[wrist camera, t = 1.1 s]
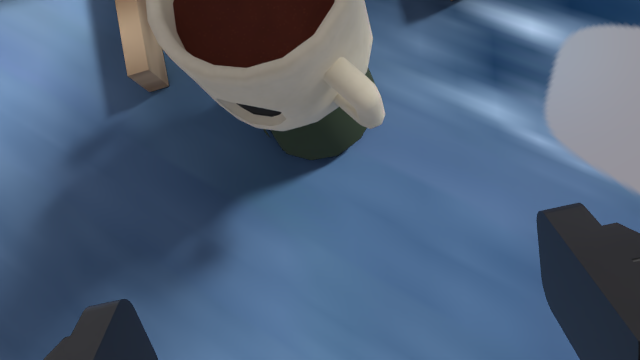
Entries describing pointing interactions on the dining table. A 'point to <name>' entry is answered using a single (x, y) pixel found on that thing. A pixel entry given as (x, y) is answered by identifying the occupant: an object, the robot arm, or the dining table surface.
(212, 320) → the dining table surface
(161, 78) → the oak dock
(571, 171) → the dining table surface
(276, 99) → the character mug
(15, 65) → the dining table surface
